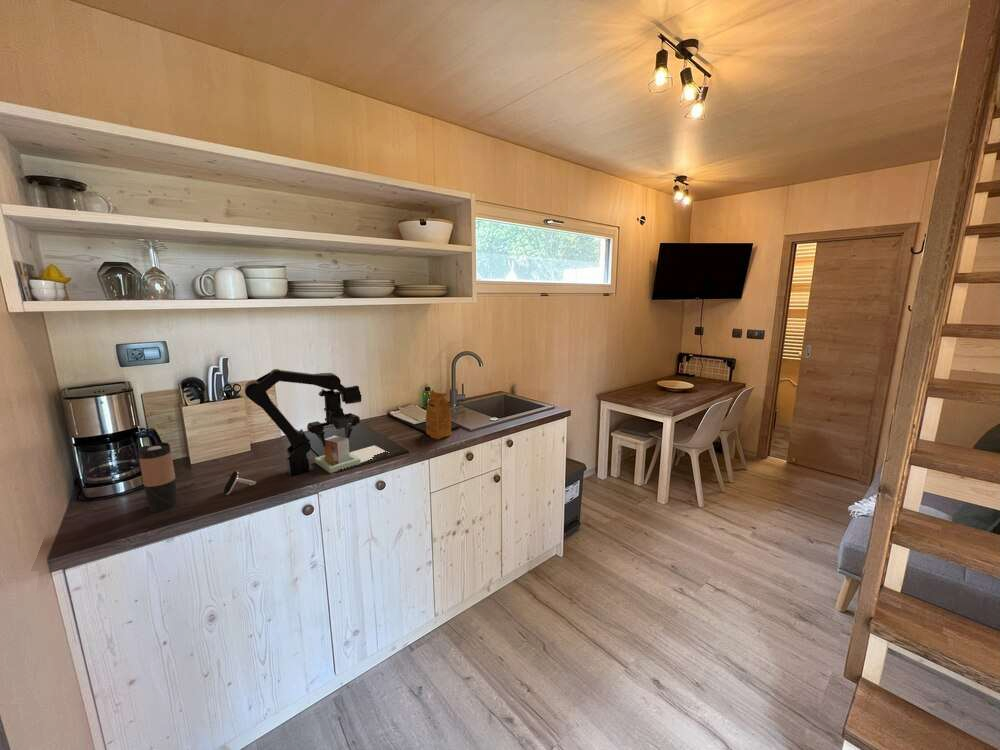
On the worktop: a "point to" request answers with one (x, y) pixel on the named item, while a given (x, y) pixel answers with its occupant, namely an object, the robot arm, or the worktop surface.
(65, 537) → the worktop surface
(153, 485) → the travel mug
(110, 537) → the worktop surface
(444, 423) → the coffee package
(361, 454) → the plate
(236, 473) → the rubber stamp
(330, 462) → the small box
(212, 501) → the worktop surface
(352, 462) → the pocket frame
